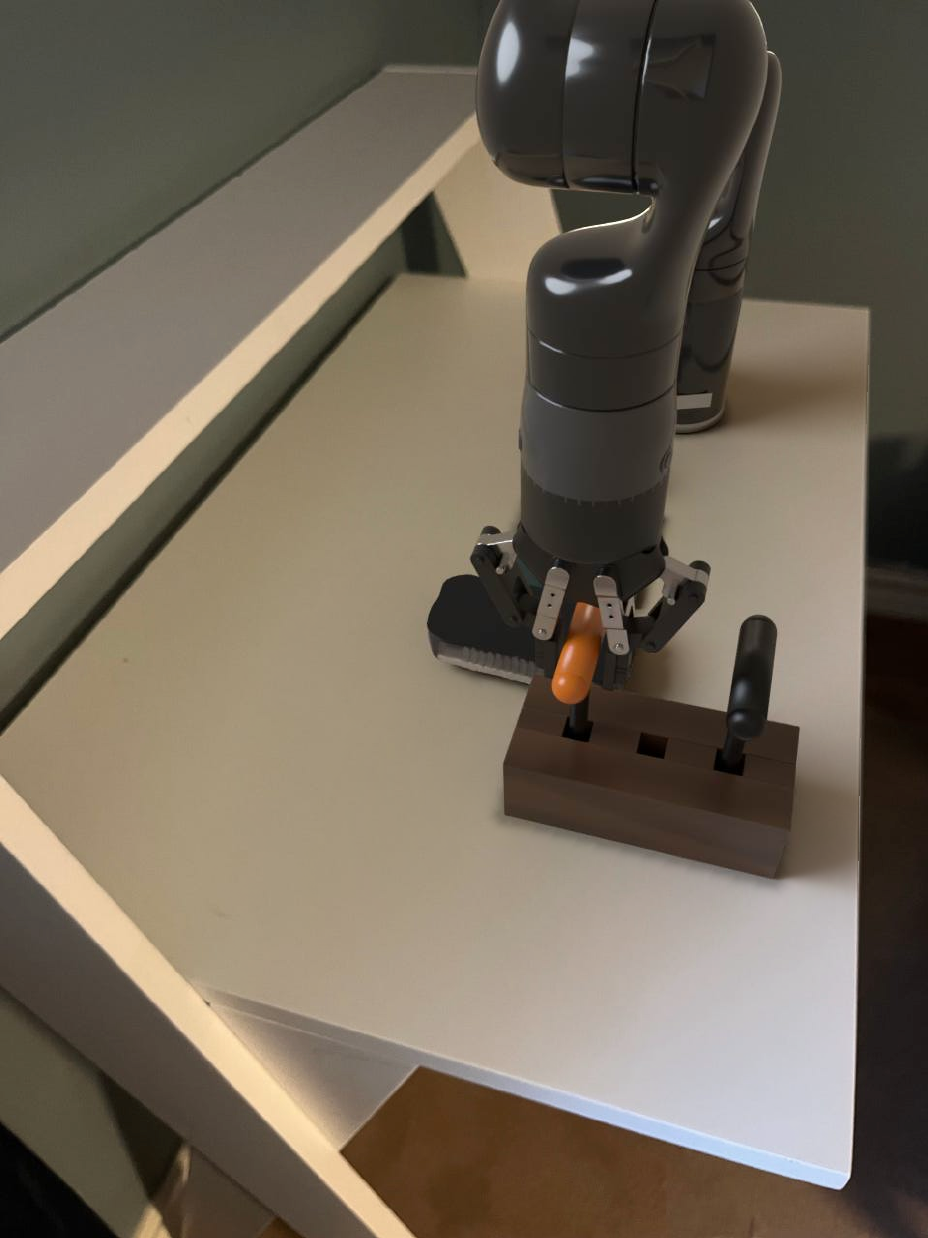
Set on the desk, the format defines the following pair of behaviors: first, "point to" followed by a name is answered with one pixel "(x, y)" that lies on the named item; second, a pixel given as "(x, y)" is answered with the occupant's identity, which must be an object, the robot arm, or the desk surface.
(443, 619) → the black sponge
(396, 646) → the desk surface
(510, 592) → the robot arm
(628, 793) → the tool stand
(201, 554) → the desk surface
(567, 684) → the amber t handle
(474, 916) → the desk surface
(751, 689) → the black t handle
